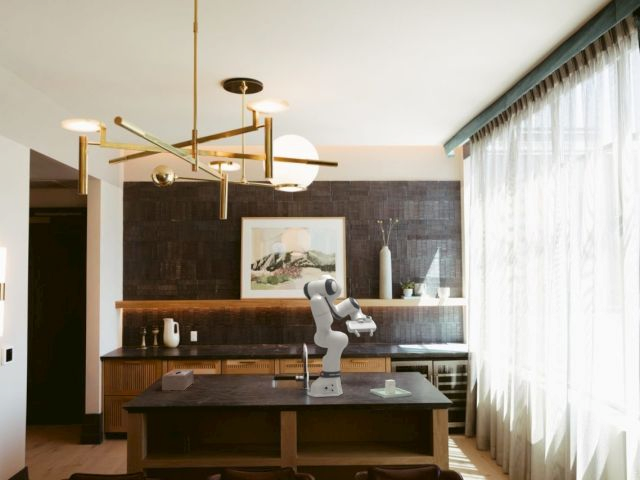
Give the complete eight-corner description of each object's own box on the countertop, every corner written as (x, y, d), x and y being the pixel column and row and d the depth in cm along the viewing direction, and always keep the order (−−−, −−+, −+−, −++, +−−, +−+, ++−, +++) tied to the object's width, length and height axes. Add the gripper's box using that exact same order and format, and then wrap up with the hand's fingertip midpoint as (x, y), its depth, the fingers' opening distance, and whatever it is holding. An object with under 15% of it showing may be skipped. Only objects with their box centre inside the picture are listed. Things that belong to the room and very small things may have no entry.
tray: (385, 398, 354) (385, 395, 355) (370, 392, 373) (370, 389, 373) (411, 396, 361) (411, 392, 361) (395, 390, 380) (395, 387, 380)
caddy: (389, 394, 363) (389, 381, 364) (385, 393, 368) (385, 380, 369) (396, 394, 365) (396, 380, 366) (392, 392, 370) (392, 379, 370)
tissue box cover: (184, 391, 384) (184, 375, 385) (161, 391, 385) (162, 376, 385) (193, 384, 410) (193, 369, 411) (172, 384, 410) (172, 369, 411)
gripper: (346, 317, 399) (352, 333, 390) (373, 316, 407) (380, 332, 397) (343, 323, 403) (349, 339, 393) (370, 322, 411) (377, 338, 401)
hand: (365, 335), depth 396 cm, fingers open, 8 cm apart
